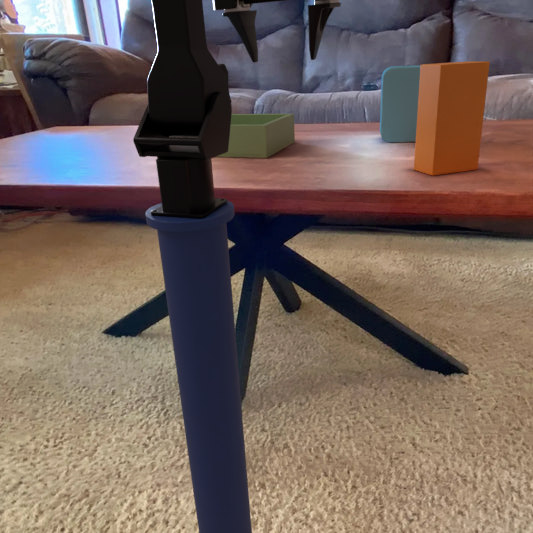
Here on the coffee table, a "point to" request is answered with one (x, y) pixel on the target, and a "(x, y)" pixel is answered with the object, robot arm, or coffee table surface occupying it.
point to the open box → (259, 135)
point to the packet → (450, 116)
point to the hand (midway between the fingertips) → (283, 60)
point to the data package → (399, 103)
